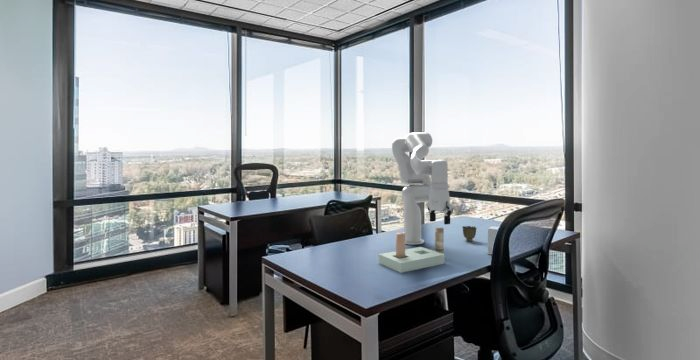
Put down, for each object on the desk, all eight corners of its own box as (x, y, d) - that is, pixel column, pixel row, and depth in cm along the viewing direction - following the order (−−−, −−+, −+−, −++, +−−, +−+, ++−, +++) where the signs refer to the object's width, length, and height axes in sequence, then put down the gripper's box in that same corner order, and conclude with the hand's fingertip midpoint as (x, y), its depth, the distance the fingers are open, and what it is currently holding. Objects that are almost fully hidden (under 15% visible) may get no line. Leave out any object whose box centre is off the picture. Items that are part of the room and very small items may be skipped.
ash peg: (432, 256, 179) (432, 227, 178) (439, 255, 181) (439, 226, 180) (438, 258, 176) (439, 229, 175) (445, 257, 178) (445, 228, 177)
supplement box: (503, 256, 178) (503, 230, 177) (487, 254, 182) (487, 228, 181) (506, 252, 185) (506, 227, 184) (490, 250, 188) (490, 225, 187)
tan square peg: (394, 264, 164) (393, 233, 163) (401, 263, 166) (401, 232, 165) (399, 267, 161) (399, 235, 160) (407, 265, 163) (406, 233, 162)
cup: (477, 242, 205) (477, 228, 204) (463, 242, 206) (463, 228, 205) (475, 239, 212) (475, 225, 211) (461, 239, 213) (461, 225, 213)
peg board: (378, 265, 168) (378, 254, 167) (420, 257, 179) (420, 246, 179) (400, 275, 154) (400, 263, 153) (444, 265, 165) (444, 254, 165)
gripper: (421, 186, 181) (421, 221, 182) (446, 187, 166) (447, 226, 167) (432, 185, 185) (433, 219, 186) (459, 186, 170) (459, 224, 171)
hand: (439, 222), depth 177 cm, fingers open, 9 cm apart
